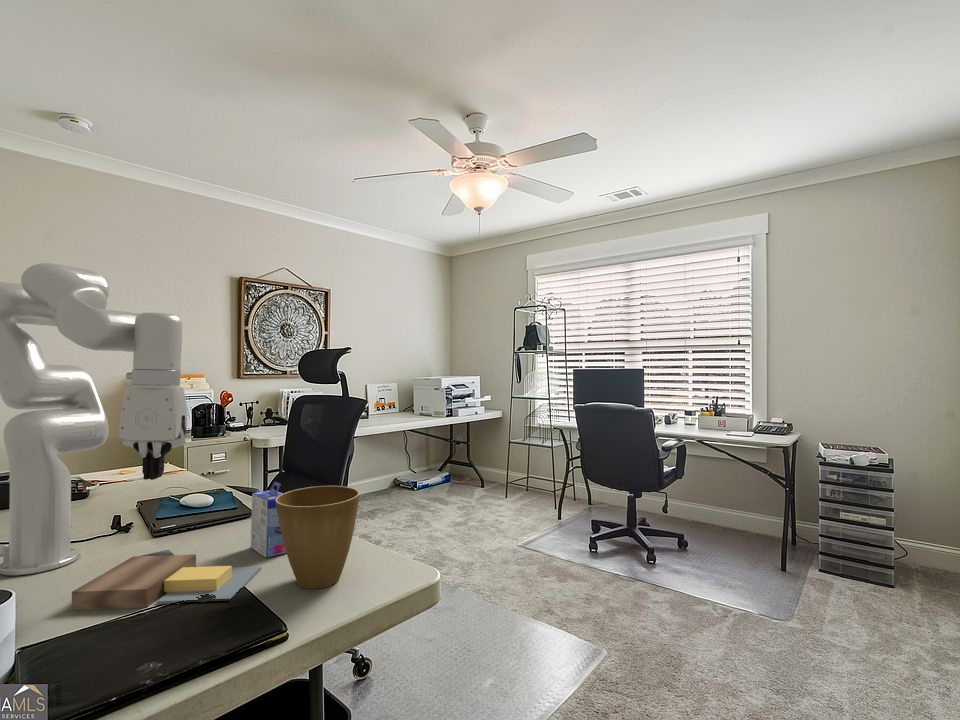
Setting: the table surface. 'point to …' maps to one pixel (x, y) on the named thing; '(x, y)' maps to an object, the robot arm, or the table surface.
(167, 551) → the solid state drive
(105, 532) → the table surface
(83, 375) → the robot arm
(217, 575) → the ochre block
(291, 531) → the plant pot
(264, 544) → the ink cartridge box
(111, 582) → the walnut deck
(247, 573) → the slate mat
